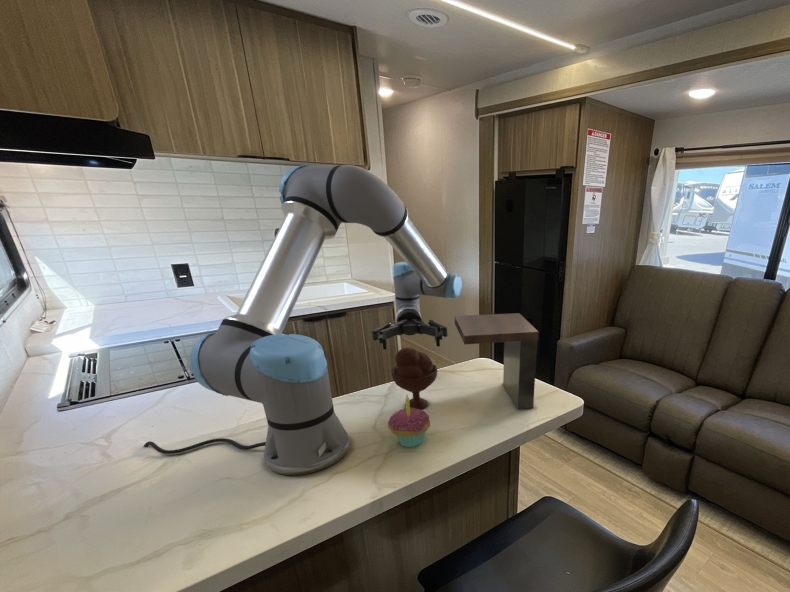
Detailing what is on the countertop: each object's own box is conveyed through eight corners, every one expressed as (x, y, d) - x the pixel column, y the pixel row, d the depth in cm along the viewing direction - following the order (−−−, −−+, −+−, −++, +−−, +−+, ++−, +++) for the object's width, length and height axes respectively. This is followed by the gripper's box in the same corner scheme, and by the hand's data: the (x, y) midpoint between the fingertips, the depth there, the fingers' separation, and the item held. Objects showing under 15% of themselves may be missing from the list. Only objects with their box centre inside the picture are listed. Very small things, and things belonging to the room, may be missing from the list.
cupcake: (433, 449, 82) (430, 397, 77) (390, 455, 80) (384, 402, 75) (428, 427, 90) (425, 379, 85) (389, 432, 88) (384, 383, 83)
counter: (465, 416, 95) (464, 335, 87) (456, 387, 109) (454, 316, 101) (533, 409, 99) (538, 331, 91) (516, 382, 113) (519, 313, 105)
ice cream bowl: (416, 420, 93) (411, 360, 87) (385, 405, 99) (378, 348, 93) (448, 403, 100) (446, 347, 94) (417, 391, 107) (413, 337, 100)
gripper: (450, 330, 126) (460, 353, 107) (367, 334, 121) (362, 359, 102) (449, 306, 123) (459, 326, 104) (364, 309, 118) (359, 331, 99)
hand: (411, 343), depth 103 cm, fingers open, 13 cm apart
